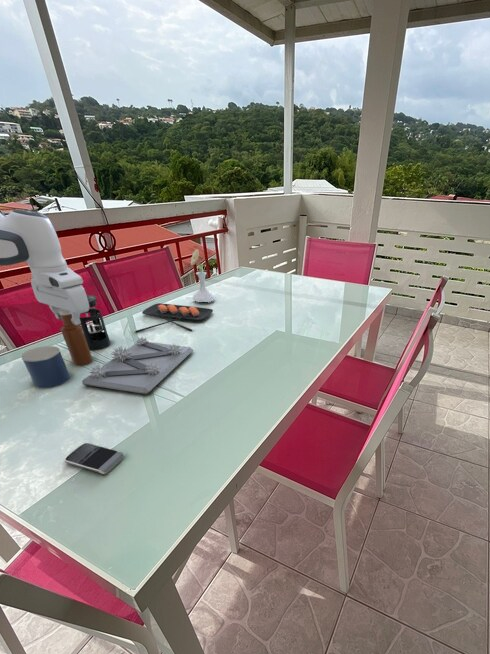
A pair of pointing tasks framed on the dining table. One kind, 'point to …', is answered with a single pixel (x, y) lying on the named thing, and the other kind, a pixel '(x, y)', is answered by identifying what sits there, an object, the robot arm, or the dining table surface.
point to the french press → (94, 327)
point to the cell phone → (94, 458)
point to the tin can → (46, 366)
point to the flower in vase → (201, 283)
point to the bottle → (75, 340)
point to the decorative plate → (138, 366)
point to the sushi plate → (176, 313)
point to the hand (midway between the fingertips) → (68, 321)
